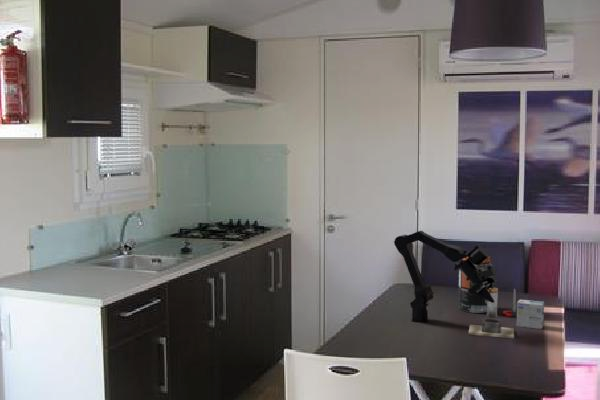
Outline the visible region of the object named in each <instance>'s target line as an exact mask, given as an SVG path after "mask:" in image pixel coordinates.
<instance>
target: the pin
mask: <svg viewBox="0 0 600 400" xmlns="http://www.w3.org/2000/svg"><path fill="white" fill-rule="evenodd" d="M488 292H489V293H490V295H491V296H492V298H493V299H494V301H495V302H494V303H491V302H489V301H487V312H486V318H491V319H497V317H498V301H499V298H498V296H499V293H498V292H499V288H498V287H488ZM497 300H498V301H497Z"/></svg>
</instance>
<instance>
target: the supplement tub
mask: <svg viewBox="0 0 600 400" xmlns="http://www.w3.org/2000/svg"><path fill="white" fill-rule="evenodd" d="M467 258H469V257H467ZM467 258H464V259H462V260H466V259H467ZM475 266H476V268H477V269H481V270H482V271H485V270H487V267H489V266H493V265H492V264H491V257H490V255H489V257H488V258H487V259H486V260H485V261H484V262H482V263H481V264H480V265H477V264H476V265H475ZM466 278H467V277H466V276H465V274H464V273H463V272H462V271H461V269H458V303H457V304H458V308H459V309H460V310H461V311H463V312H467V313H473V314H479V313H481V314H482V313H487V300H486V299H484V298H482V297H479V296H477V295H475V294H476V293H477V291H476V292H474V294H473V295H470V294H469V293H468V289H469V288H470V287H471V286H472V285H473V284H472V283H471V282H470V280H468V281H467V279H466Z"/></svg>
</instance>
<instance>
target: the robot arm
mask: <svg viewBox="0 0 600 400" xmlns="http://www.w3.org/2000/svg"><path fill="white" fill-rule="evenodd" d="M417 241H419V243H422V244H425V245H426V246H429V247H430V248H432V249H434V250H436V251H438V252H440V253H441V254H442V255H443V256H444V257H445V258H447V259H448V260H450V261H451V262H453V263H455V264H454V269H453V270H454V271H459V269H461V271H462V272H463V273H464V274H465V276H466V277H467V278H466V279H467V281H468V280H470V282H471V283H472V284H473V285H472V286H471V287H470V288H469V289H468V293H469V294H470V295H473V294H474V292H476V291H477V293H476V294H475V295H477V296H479V297H482V298H484V299H486V300H487V301H489V302H491V303H494V302H495V301H494V299H493V298H492V296H491V295H490V293H489V292H488V287H494V285H495V282H496V281H497V278H496V275H497V272H496V271H497V269H496V268H495V267H494V266H493V265H492V266H489V267H487V270H485V271H482V270H481V269H477V268H476V266H475V265H476V264H477V265H480V264H481V263H482V262H484V261H485V260H486V259H487V258H488V257H489V256H490V255H489V252H488V251H487V249H485V248H483V247H482V246H480V245H479V244H477V245H476V246H474V247H473V248H472V249H471V250H470V251H468V250H465V249H464V248H463V247H461V246H458V245H455V244H449V243H446V242H444V241H442V240H440V239H438V238H436V237H434V236H432V235H430V234H428V233H426V232H425V231H424V230H418V231H415V232H413V233H411V234H402V235H398V236H396V237H395V238H394V241H393V243H394V247H395V249H396V250H397V252H398V253H399V254H400V255H401V256H402V257H403V261H404V264H405V265H406V268H407V271H408V273H409V275H410V278H411V282H412V285H413V287H414V292H413V294H414V299H413V300H412V301H411V302H410V303H409V304H410V307H411V310H412V313H411V322H418V323H427V321H428V320H429V309H428V306H429V305H430V303H431V302H432V301H433V299H434V294H435V293H434V292H433V289H432V286H431V285H430V284H429V285H427V284H426V283H425V281H424V278H423V275H422V273H421V271H420V267H419V265H418V262H417V260H416V257H415V255H414V244H413V243H415V242H417ZM467 257H469V258H467ZM464 258H467V259H466V260H463V259H464ZM456 262H459V263H456ZM498 301H499V299H498V300H497V302H498Z"/></svg>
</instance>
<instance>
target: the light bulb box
mask: <svg viewBox="0 0 600 400" xmlns="http://www.w3.org/2000/svg"><path fill="white" fill-rule="evenodd" d="M516 303H517V304H516V311H517V317H516V327H521V328H528V329H529V328H532V329H538V330H542V329H543V327H544V317H545V316H544V314H545V312H544V309H545V302H544V301H539V300H536V301H535V300H528V299H519V300H518V301H517V302H516Z"/></svg>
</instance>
